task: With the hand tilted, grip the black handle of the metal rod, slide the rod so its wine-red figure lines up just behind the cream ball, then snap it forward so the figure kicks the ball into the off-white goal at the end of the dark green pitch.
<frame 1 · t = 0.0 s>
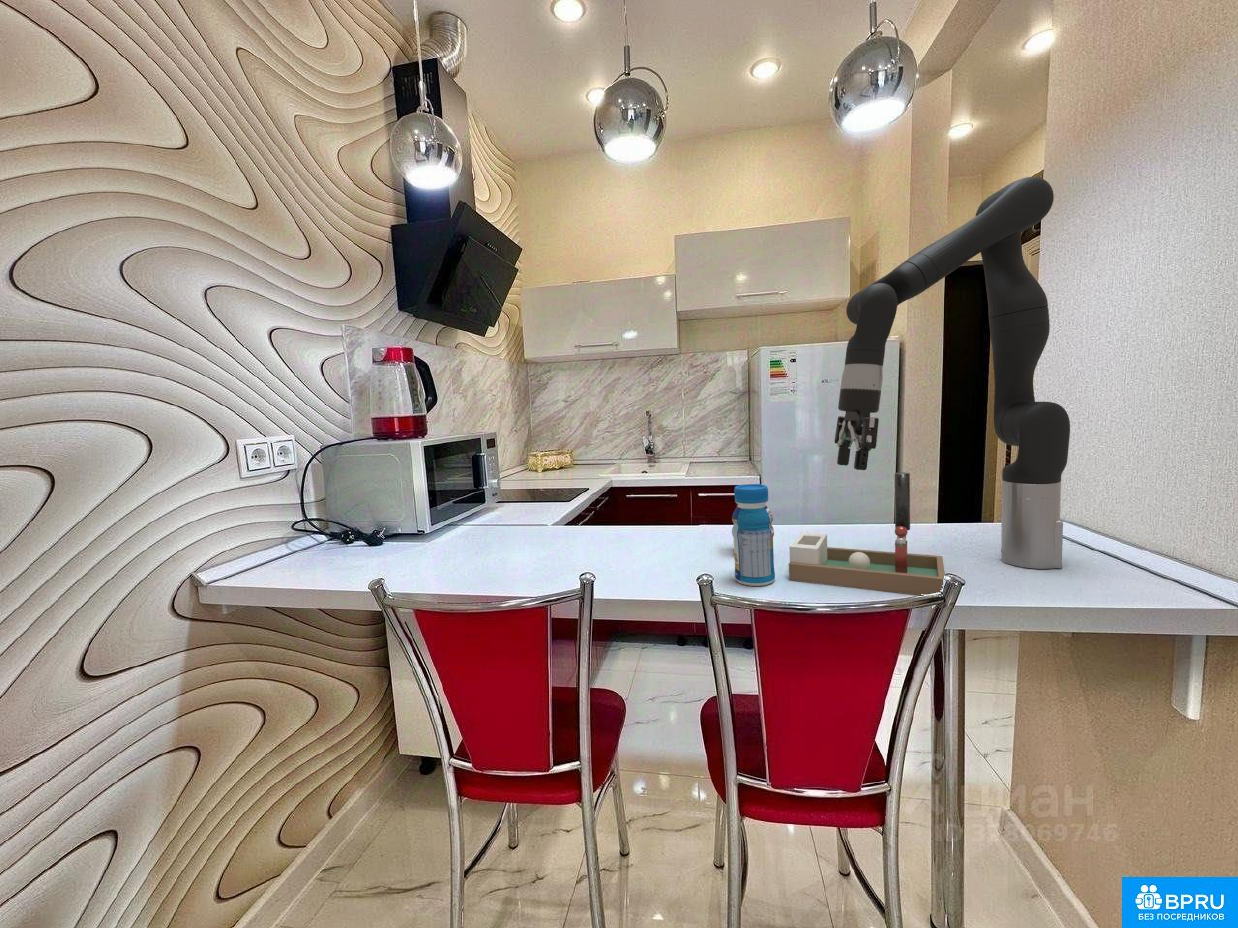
hand: (850, 467, 101), 22 cm above the table, tool pointing down, fingers open, 8 cm apart
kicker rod: (901, 521, 100), point 11 cm above the table, slide at 0.0 cm
beverage bottle: (754, 580, 103), on the table
pitch: (865, 576, 101), on the table
coffee box: (752, 553, 122), on the table
ball: (859, 561, 101), point 3 cm above the table, touching pitch
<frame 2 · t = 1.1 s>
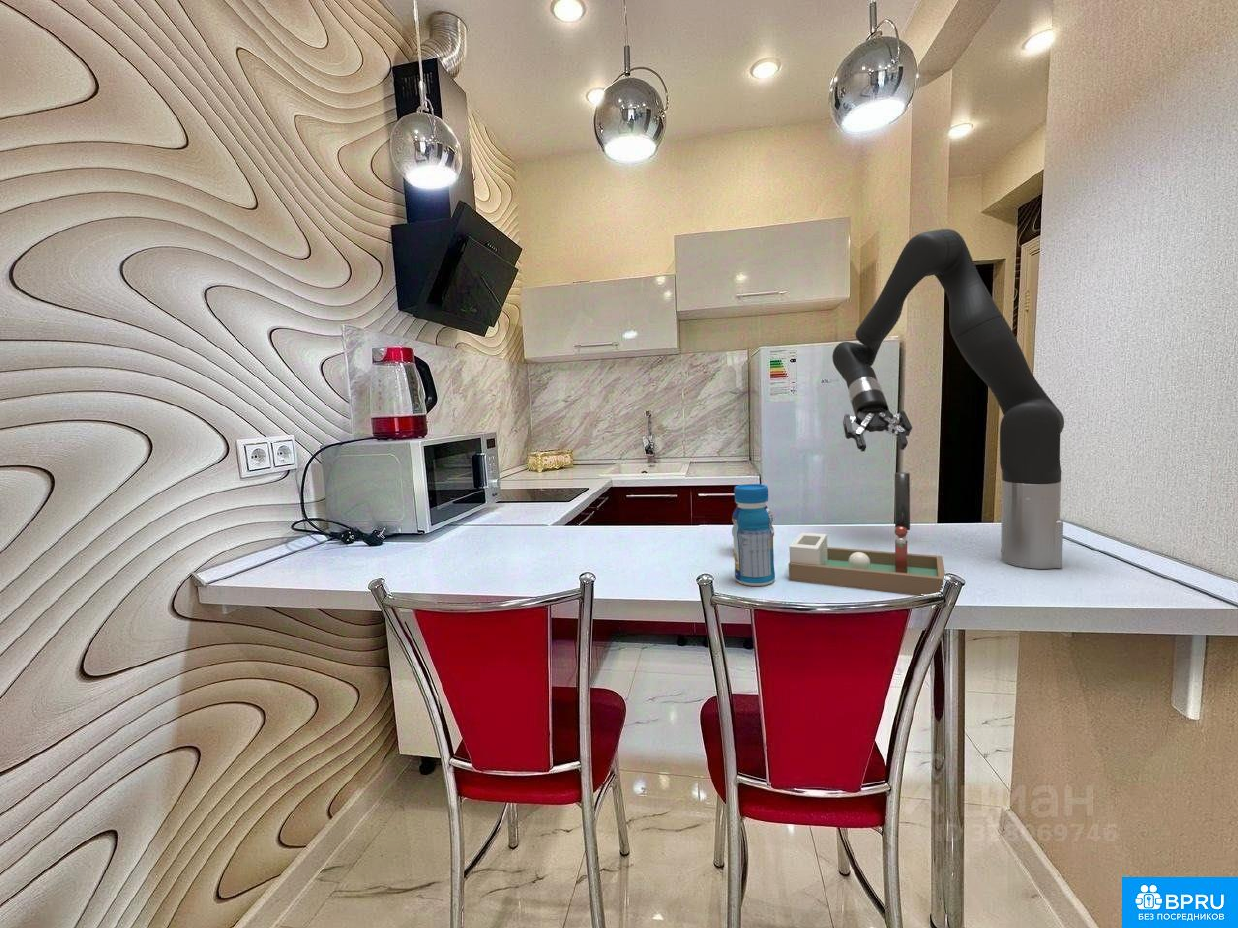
hand: (883, 448, 114), 24 cm above the table, tool tilted 45°, fingers open, 8 cm apart
nothing on the table moved.
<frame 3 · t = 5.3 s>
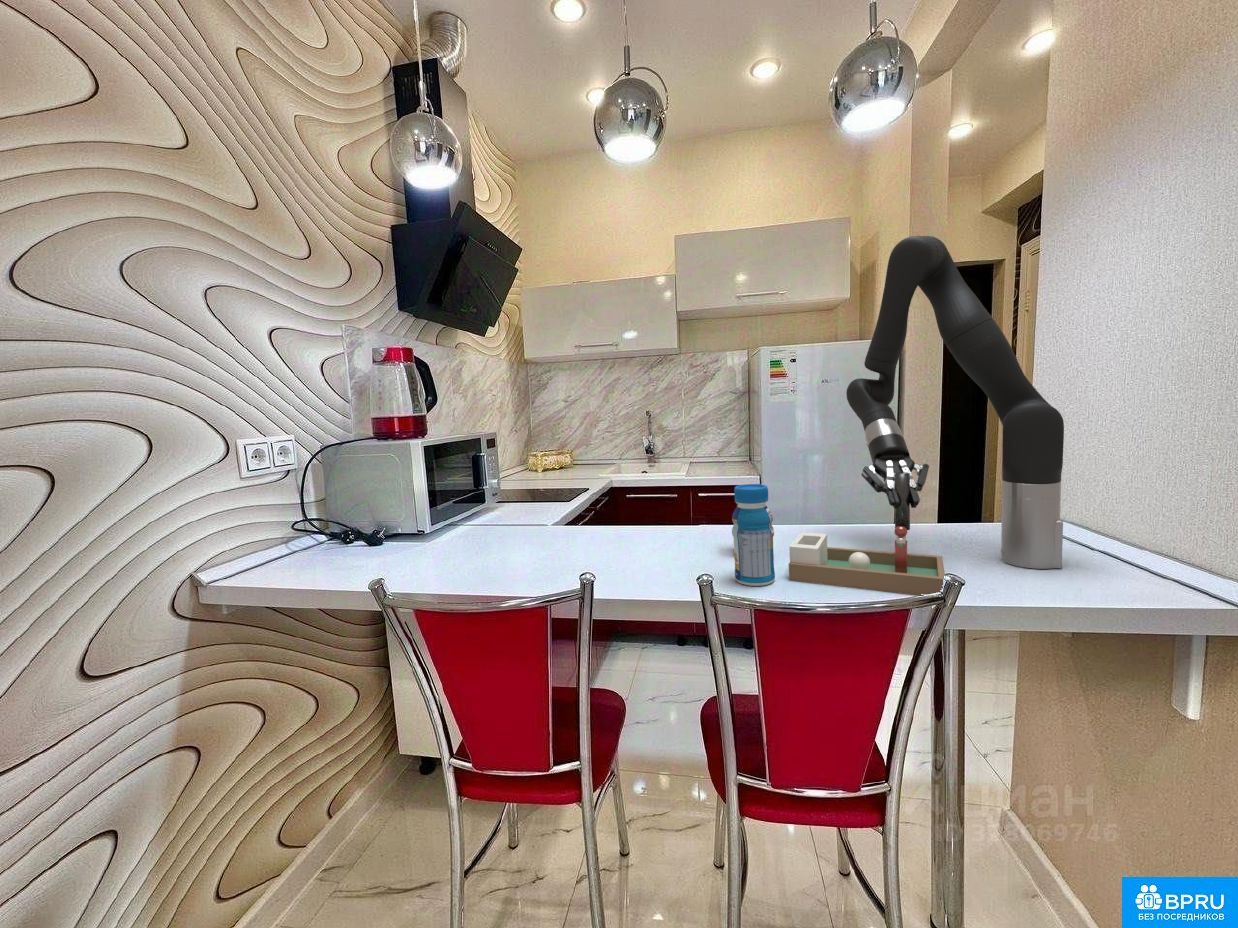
hand: (905, 505, 102), 13 cm above the table, tool tilted 45°, fingers closed on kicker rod, 3 cm apart
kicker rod: (901, 521, 100), point 11 cm above the table, slide at 0.0 cm, touching gripper
everything else where it was.
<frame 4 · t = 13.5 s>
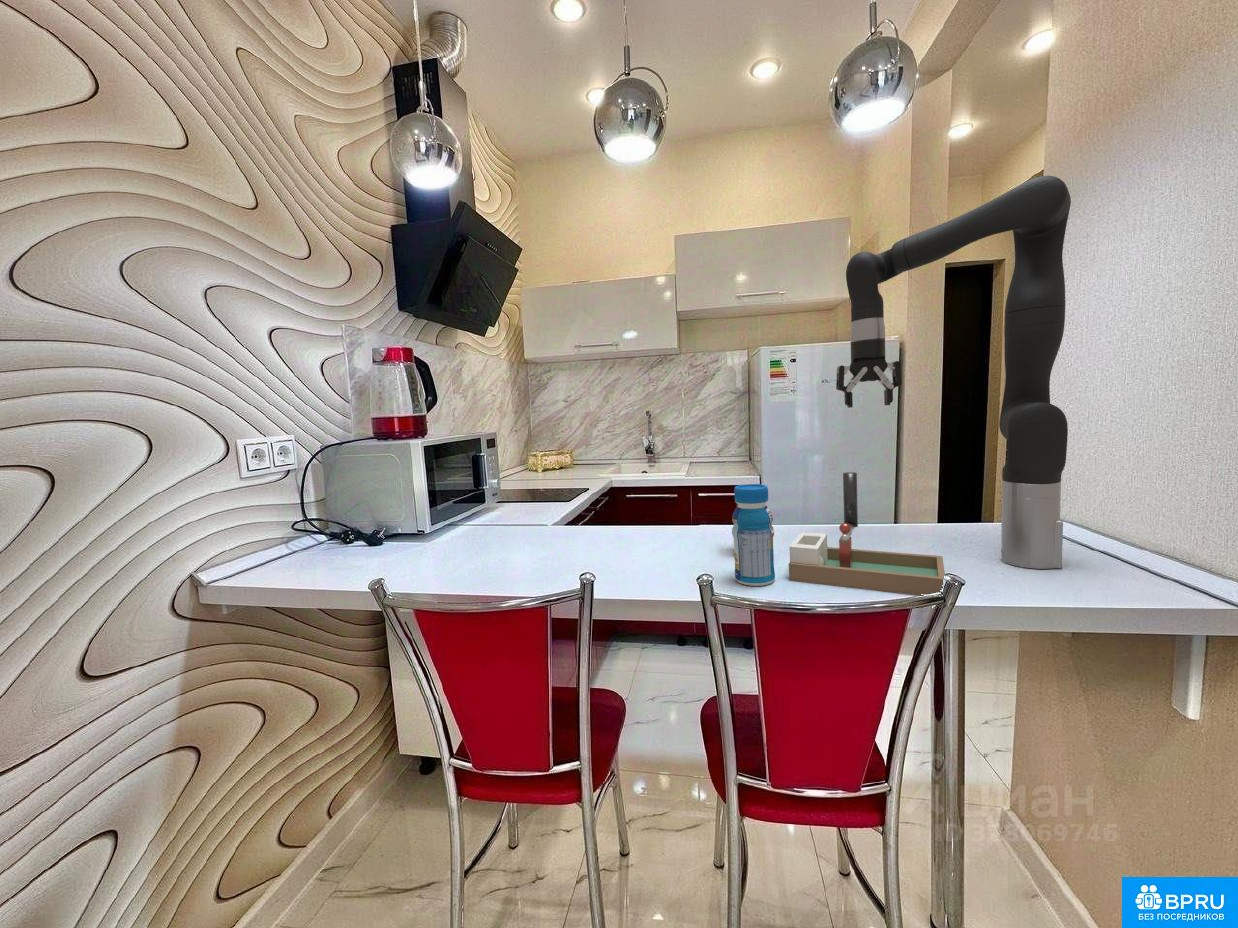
hand: (868, 406, 121), 34 cm above the table, tool pointing down, fingers open, 8 cm apart
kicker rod: (847, 519, 105), point 11 cm above the table, slide at 10.1 cm
ball: (813, 562, 106), point 2 cm above the table, tilted 105°
everything else where it was.
at the end: ball 0.8 cm from the target spot on the pitch, point 2.0 cm above the pitch's base; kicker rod slide at 10.1 cm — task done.
